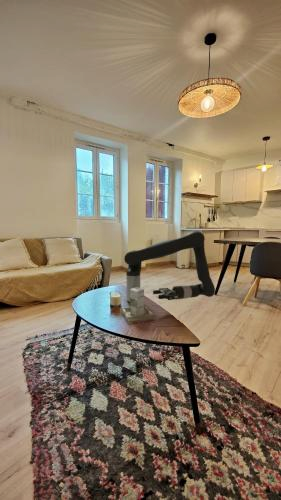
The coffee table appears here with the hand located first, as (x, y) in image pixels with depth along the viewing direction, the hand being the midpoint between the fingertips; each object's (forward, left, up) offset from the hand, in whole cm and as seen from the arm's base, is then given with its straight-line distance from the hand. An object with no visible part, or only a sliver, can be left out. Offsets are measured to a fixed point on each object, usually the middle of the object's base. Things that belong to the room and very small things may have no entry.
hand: (155, 294), depth 123 cm
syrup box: (0, -11, -10) cm, 15 cm away
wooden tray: (0, -11, -11) cm, 16 cm away
